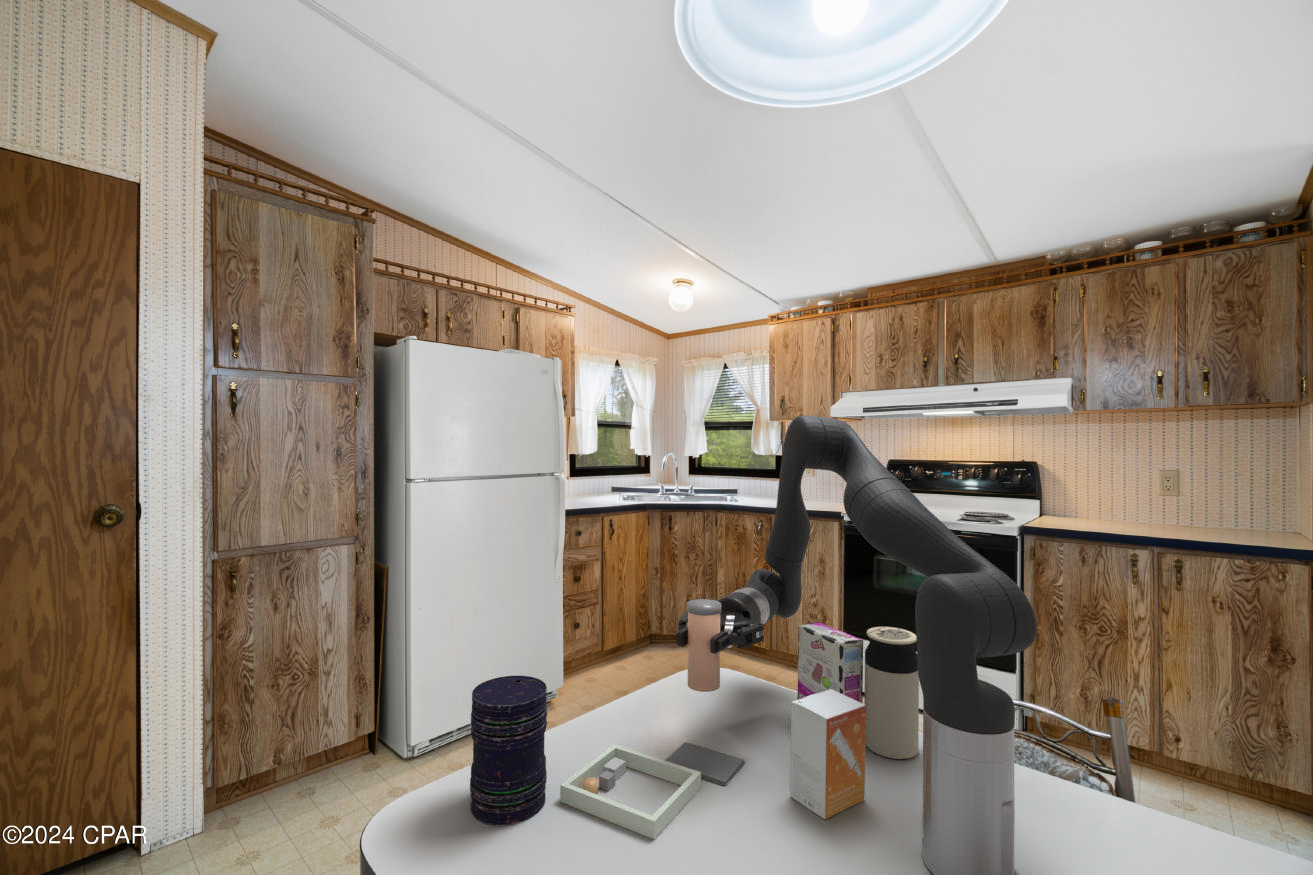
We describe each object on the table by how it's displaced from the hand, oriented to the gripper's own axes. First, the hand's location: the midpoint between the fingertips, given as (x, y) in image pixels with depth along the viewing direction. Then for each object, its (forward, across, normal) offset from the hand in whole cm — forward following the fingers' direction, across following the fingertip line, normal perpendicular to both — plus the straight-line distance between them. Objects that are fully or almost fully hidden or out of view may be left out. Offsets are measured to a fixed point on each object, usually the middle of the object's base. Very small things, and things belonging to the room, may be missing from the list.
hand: (696, 642), depth 87 cm
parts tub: (+9, -5, +19) cm, 21 cm away
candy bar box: (-24, +13, +19) cm, 33 cm away
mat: (-3, 0, +19) cm, 19 cm away
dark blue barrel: (+19, -18, +19) cm, 32 cm away
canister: (-3, 0, +7) cm, 7 cm away
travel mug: (-23, +23, +19) cm, 38 cm away
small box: (-4, +18, +19) cm, 27 cm away
